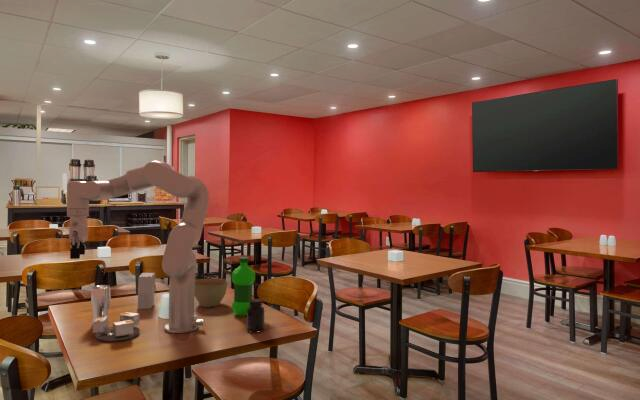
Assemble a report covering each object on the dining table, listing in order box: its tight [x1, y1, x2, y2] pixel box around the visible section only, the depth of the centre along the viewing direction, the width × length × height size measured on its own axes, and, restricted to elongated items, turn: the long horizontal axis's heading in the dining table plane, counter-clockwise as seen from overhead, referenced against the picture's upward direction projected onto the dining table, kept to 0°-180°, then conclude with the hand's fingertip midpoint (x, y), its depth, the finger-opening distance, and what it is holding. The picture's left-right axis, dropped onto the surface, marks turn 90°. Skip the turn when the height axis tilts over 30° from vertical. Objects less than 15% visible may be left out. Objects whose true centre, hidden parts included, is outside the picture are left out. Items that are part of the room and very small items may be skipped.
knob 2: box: [112, 320, 133, 337], centre depth 165 cm, size 4×6×5 cm, turn 131°
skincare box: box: [137, 272, 156, 310], centre depth 208 cm, size 8×6×15 cm
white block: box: [92, 315, 109, 333], centre depth 168 cm, size 4×6×5 cm, turn 11°
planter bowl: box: [194, 278, 229, 308], centre depth 214 cm, size 16×16×11 cm
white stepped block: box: [119, 311, 140, 327], centre depth 175 cm, size 4×6×5 cm, turn 71°
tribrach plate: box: [94, 326, 141, 343], centre depth 170 cm, size 15×15×2 cm
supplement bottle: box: [246, 298, 265, 332], centre depth 179 cm, size 7×7×12 cm
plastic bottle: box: [231, 256, 256, 316], centre depth 199 cm, size 10×10×25 cm
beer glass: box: [90, 284, 111, 326], centre depth 181 cm, size 7×7×15 cm
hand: (77, 256), depth 178 cm, fingers open, 9 cm apart
